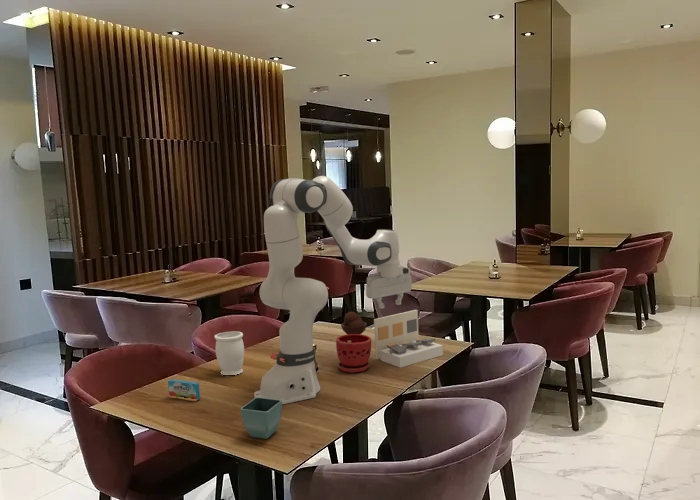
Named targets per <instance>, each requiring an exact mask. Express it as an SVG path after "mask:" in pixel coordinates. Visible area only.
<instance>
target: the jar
mask: <svg viewBox="0 0 700 500" xmlns="http://www.w3.org/2000/svg"><path fill="white" fill-rule="evenodd" d="M243 337H244V333H243V332H241V331H236V330H235V331H234V330H233V331H224V332H219V333H217V334H214V339H215V340H216V342H215V357H216V359H217V364H218V367H219V368H220V370H221V371H220V373H221V374H223V375H235V376H238V375H237V374H239V375H241V374H242V373H243V372H244V369H243V368H242V367H243V364H244V356H245V346H244V345H245V343H244V341H243ZM240 373H241V374H240ZM221 374H220V375H221ZM223 375H222V376H223Z"/></svg>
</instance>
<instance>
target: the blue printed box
mask: <svg viewBox="0 0 700 500" xmlns="http://www.w3.org/2000/svg"><path fill="white" fill-rule="evenodd" d="M167 385H168V386H167V387H168V396H169V395H170V396H176V397H184V398H191V399H199V398H200V399H201V393H200V383H199V382H196V381H188V380H181V379H180V380H179V379H173V378H172V379H169V380H168V381H167Z"/></svg>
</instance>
